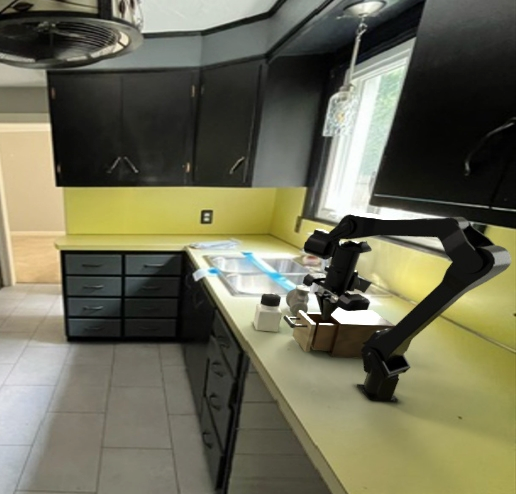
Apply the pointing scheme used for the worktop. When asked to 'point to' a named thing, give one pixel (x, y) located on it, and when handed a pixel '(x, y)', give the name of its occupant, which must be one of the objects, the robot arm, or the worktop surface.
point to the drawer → (313, 331)
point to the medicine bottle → (268, 313)
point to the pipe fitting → (298, 299)
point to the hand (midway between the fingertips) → (324, 319)
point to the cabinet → (355, 331)
